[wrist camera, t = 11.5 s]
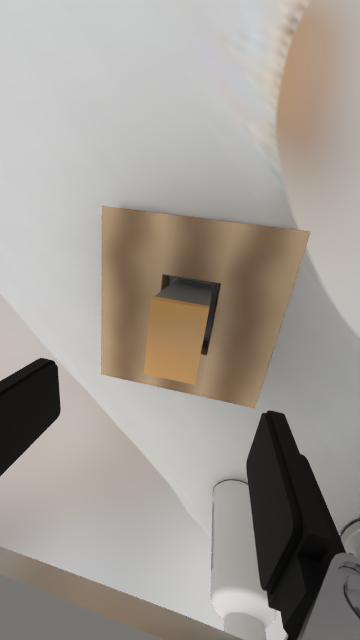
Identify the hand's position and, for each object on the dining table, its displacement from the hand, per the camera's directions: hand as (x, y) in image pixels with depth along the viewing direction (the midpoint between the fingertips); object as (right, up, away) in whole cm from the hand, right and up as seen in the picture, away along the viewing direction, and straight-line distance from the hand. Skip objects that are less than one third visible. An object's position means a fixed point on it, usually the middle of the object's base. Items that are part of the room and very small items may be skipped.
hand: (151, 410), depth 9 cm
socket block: (+2, +5, +15) cm, 16 cm away
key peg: (+2, +5, +15) cm, 16 cm away
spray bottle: (+10, -23, +24) cm, 34 cm away
